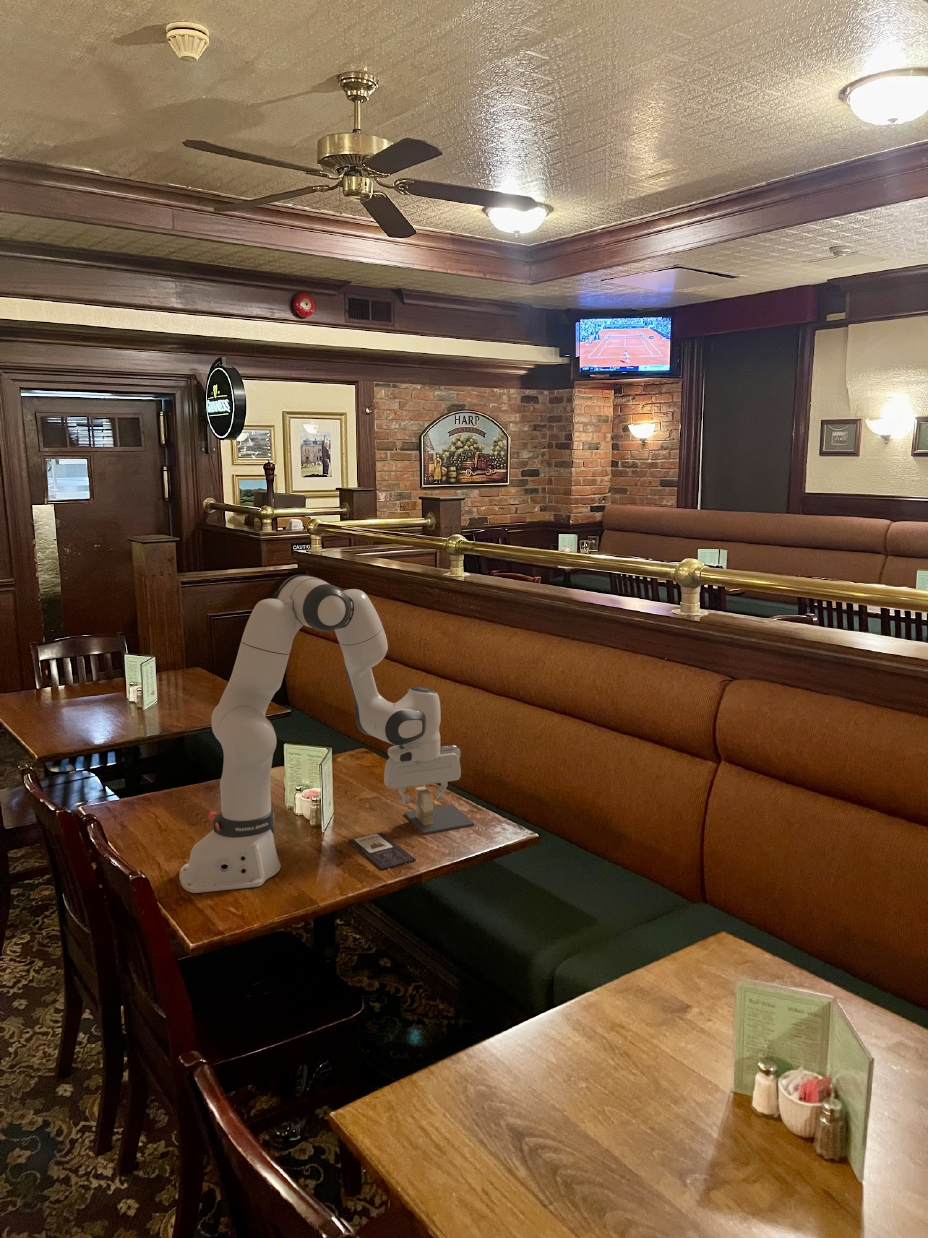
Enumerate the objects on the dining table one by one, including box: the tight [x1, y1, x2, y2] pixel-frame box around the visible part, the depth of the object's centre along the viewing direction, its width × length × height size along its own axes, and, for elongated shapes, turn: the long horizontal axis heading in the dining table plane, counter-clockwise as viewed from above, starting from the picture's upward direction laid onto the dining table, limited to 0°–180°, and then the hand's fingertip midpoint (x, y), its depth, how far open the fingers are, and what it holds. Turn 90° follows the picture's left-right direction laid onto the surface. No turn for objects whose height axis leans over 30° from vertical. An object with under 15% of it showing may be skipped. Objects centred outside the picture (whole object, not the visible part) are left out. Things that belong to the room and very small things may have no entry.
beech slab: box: [415, 786, 434, 825], centre depth 237 cm, size 6×2×8 cm, turn 24°
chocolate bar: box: [348, 832, 417, 871], centre depth 221 cm, size 9×1×18 cm
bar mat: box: [404, 804, 475, 835], centre depth 240 cm, size 14×14×1 cm
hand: (422, 800), depth 237 cm, fingers open, 8 cm apart
